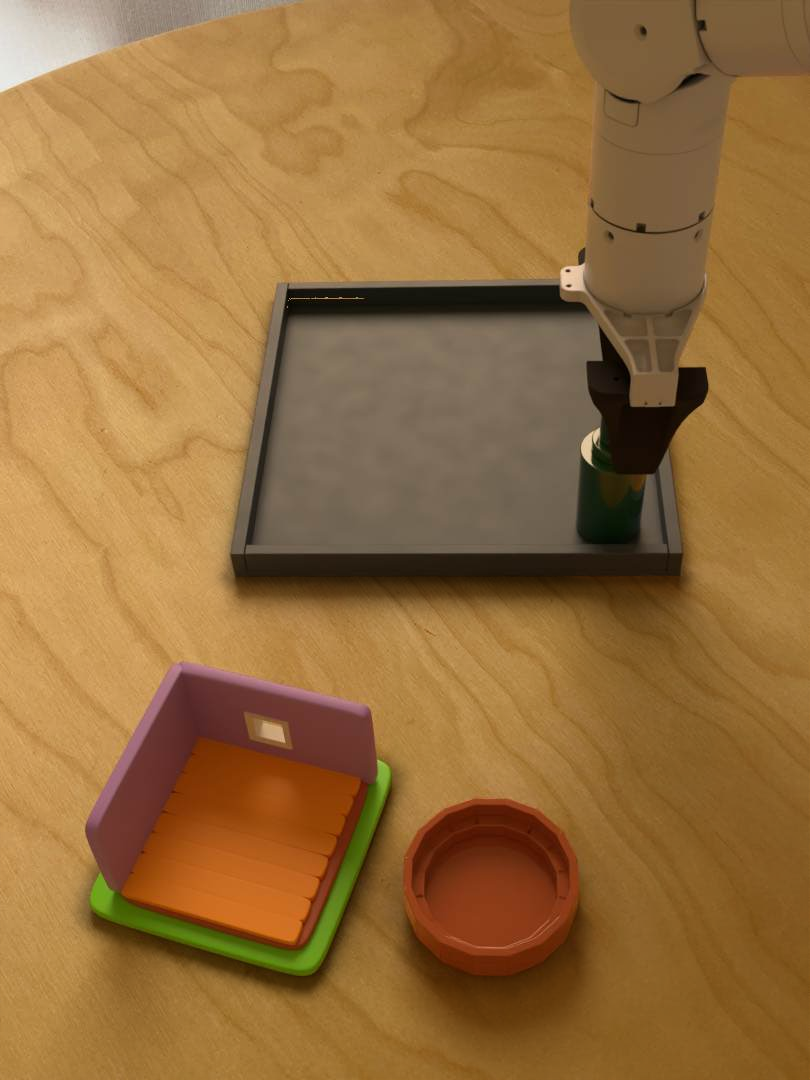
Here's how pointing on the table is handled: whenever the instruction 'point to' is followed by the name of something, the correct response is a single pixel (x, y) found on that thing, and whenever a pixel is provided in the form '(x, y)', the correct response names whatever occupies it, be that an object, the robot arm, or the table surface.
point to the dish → (491, 886)
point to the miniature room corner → (239, 818)
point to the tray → (431, 437)
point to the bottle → (606, 494)
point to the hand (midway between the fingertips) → (629, 419)
